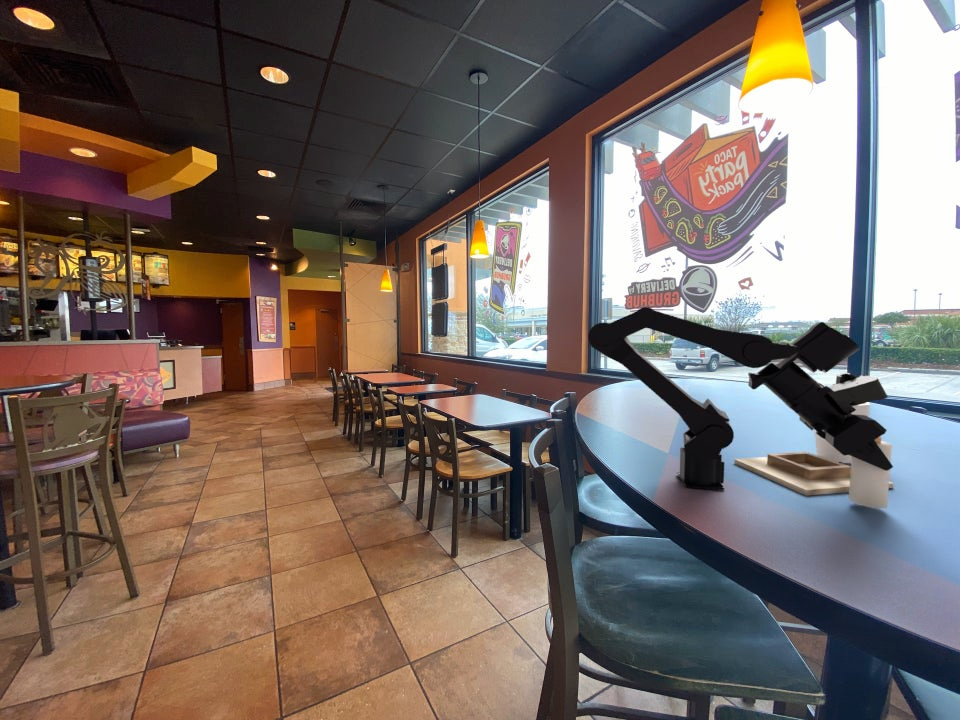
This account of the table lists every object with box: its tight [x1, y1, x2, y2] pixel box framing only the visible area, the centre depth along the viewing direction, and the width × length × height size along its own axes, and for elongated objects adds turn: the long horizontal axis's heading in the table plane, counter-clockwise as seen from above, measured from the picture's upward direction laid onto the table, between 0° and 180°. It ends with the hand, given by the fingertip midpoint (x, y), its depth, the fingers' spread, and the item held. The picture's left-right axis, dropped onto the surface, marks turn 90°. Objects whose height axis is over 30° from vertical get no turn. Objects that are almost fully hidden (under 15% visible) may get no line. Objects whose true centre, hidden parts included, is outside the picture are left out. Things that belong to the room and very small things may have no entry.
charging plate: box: [734, 451, 895, 496], centre depth 76 cm, size 18×16×3 cm
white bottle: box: [848, 436, 893, 509], centre depth 62 cm, size 4×4×11 cm
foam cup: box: [813, 402, 871, 464], centre depth 85 cm, size 10×9×13 cm
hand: (882, 463), depth 61 cm, fingers closed on white bottle, 4 cm apart
